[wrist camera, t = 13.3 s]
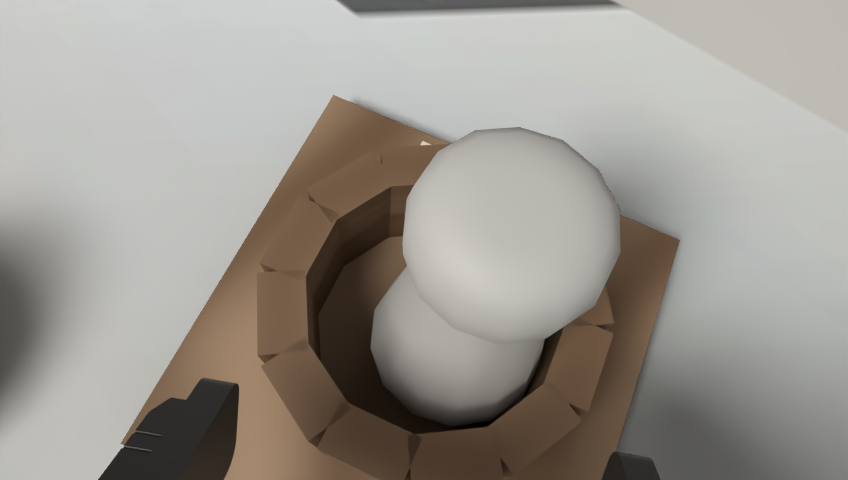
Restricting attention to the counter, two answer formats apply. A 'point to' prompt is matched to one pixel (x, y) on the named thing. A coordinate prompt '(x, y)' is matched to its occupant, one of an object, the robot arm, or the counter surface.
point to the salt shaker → (491, 271)
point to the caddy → (352, 330)
